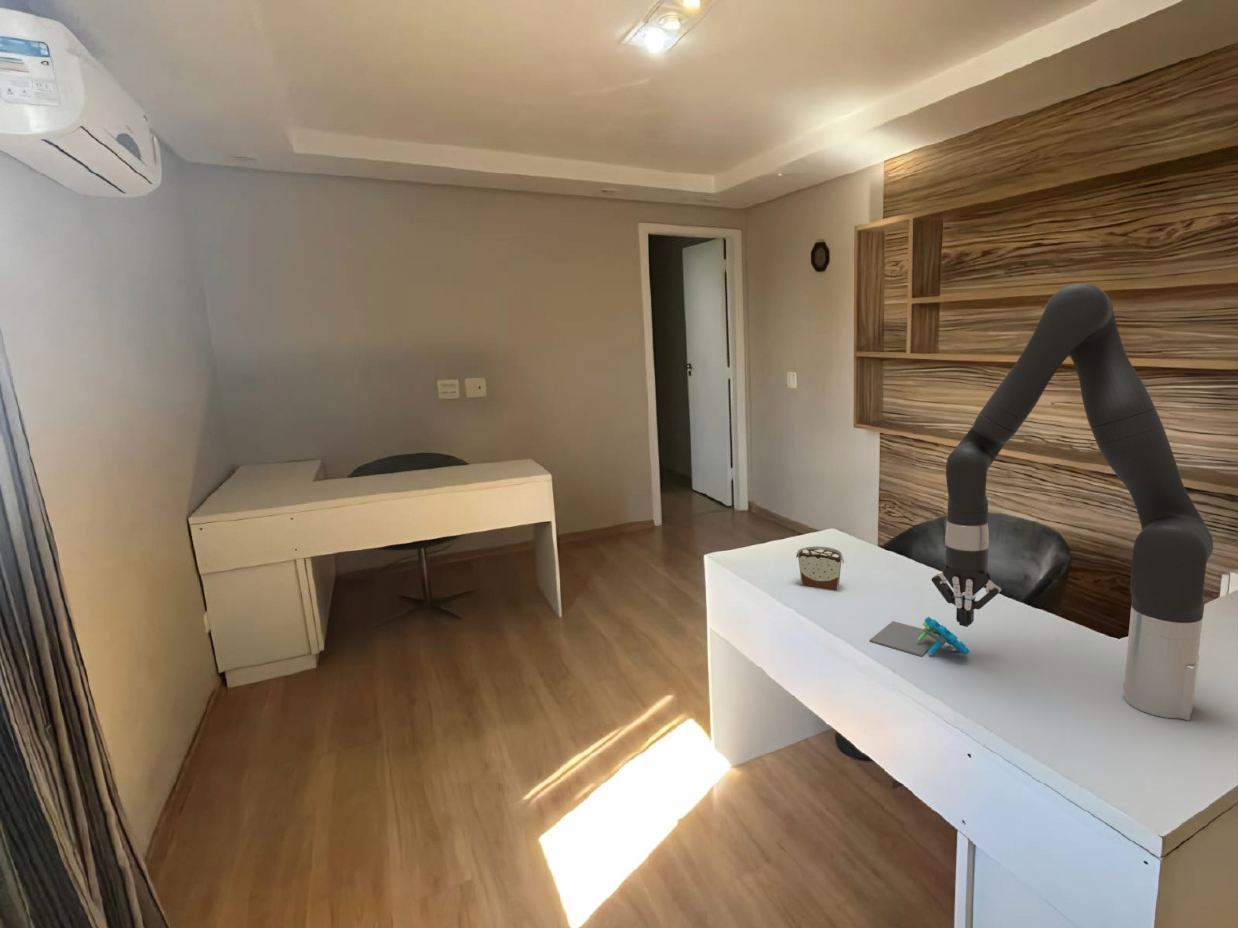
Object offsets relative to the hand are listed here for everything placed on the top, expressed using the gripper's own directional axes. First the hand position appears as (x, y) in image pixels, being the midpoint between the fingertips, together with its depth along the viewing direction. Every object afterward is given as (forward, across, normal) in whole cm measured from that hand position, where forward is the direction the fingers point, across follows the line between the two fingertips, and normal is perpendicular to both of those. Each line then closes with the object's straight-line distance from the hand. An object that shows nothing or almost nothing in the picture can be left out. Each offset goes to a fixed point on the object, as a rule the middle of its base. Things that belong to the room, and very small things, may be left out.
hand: (964, 624), depth 131 cm
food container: (+6, +41, -17) cm, 44 cm away
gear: (+8, +2, 0) cm, 8 cm away
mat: (+6, +12, 0) cm, 13 cm away
